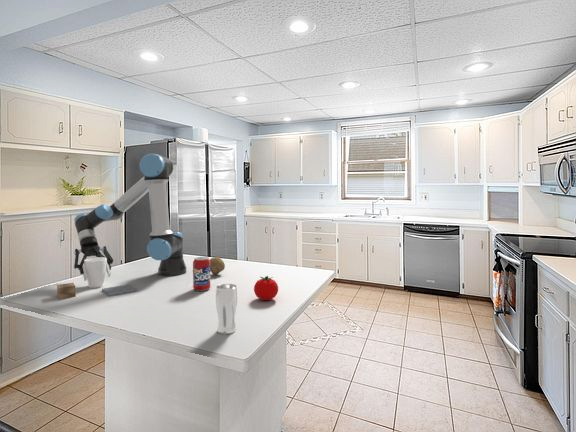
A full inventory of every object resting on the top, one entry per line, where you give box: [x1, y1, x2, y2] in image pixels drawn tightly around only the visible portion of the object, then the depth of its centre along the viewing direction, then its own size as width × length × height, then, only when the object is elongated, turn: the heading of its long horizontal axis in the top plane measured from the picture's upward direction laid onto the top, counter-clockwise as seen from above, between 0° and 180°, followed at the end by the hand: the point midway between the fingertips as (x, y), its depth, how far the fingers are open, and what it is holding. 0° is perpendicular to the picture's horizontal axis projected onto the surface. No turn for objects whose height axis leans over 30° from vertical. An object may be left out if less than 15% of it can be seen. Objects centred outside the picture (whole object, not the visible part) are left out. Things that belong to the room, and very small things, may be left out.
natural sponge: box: [209, 256, 226, 276], centre depth 184 cm, size 9×9×10 cm
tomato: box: [253, 275, 279, 301], centre depth 143 cm, size 10×10×10 cm
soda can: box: [192, 256, 211, 292], centre depth 156 cm, size 8×8×15 cm
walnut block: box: [56, 282, 77, 300], centre depth 145 cm, size 6×6×5 cm
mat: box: [101, 283, 139, 297], centre depth 154 cm, size 12×12×1 cm
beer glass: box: [215, 283, 238, 335], centre depth 111 cm, size 7×7×15 cm
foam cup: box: [83, 256, 107, 289], centre depth 161 cm, size 10×9×13 cm
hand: (97, 277), depth 159 cm, fingers closed on foam cup, 9 cm apart
